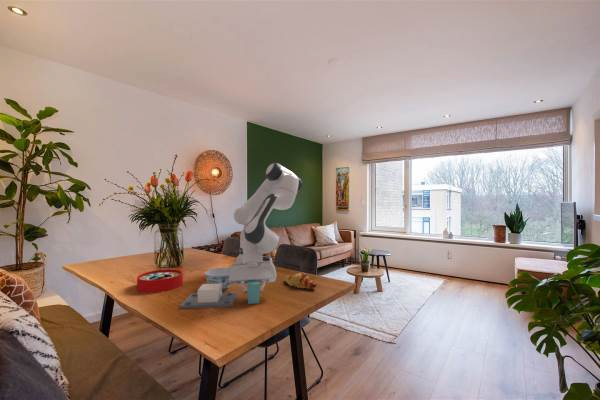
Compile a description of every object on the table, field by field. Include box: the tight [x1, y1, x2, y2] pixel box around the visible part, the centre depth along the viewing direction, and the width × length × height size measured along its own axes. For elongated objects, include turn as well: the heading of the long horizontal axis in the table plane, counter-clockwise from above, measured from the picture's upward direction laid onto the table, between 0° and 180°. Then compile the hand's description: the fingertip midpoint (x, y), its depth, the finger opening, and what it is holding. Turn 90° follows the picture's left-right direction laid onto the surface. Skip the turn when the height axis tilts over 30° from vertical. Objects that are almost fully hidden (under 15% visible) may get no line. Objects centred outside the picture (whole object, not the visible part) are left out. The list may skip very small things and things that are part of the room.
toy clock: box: [136, 268, 184, 294], centre depth 133 cm, size 20×6×20 cm
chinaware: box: [204, 267, 231, 290], centre depth 131 cm, size 15×15×8 cm
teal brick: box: [247, 281, 260, 305], centre depth 112 cm, size 4×4×8 cm
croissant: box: [284, 272, 317, 290], centre depth 134 cm, size 21×10×8 cm, turn 47°
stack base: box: [179, 283, 238, 310], centre depth 112 cm, size 13×20×6 cm, turn 96°
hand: (253, 291), depth 112 cm, fingers open, 5 cm apart
